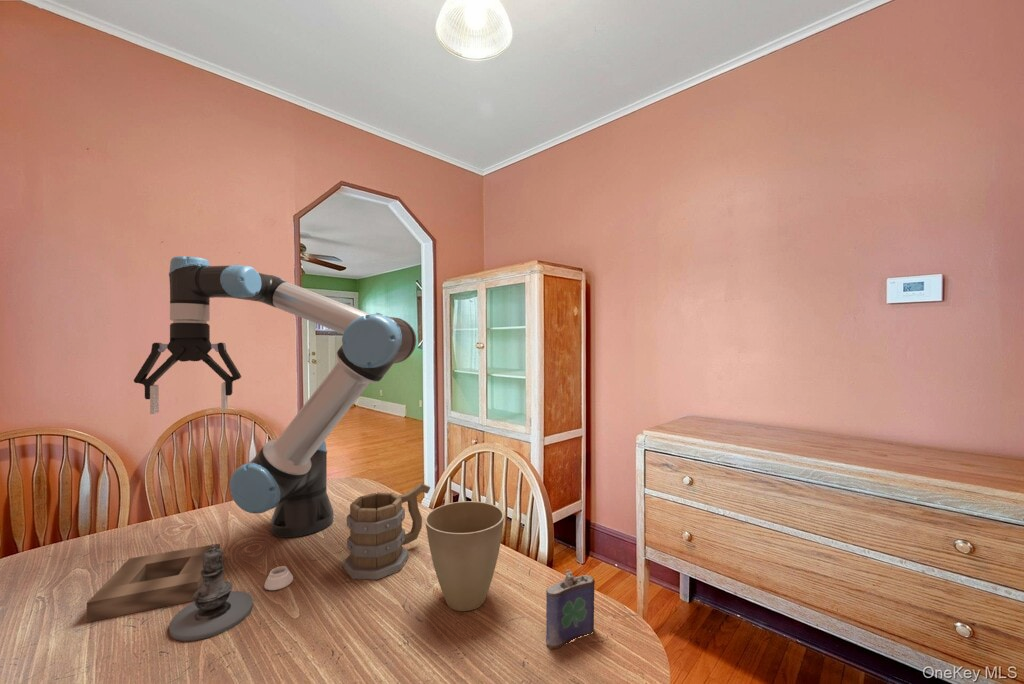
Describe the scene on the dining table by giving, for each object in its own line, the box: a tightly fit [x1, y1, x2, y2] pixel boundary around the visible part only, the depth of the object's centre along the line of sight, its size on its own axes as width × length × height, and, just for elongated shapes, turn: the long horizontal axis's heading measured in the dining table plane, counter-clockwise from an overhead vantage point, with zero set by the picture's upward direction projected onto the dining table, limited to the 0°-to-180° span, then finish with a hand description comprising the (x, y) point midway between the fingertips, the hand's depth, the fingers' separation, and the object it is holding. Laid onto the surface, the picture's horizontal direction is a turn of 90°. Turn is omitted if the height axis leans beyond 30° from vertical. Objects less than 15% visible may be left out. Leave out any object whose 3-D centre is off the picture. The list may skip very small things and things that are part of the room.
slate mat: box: [168, 590, 254, 642], centre depth 73 cm, size 12×12×1 cm
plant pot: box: [424, 500, 505, 612], centre depth 78 cm, size 15×15×16 cm
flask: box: [545, 569, 596, 650], centre depth 68 cm, size 9×3×11 cm, turn 117°
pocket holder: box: [86, 543, 221, 623], centre depth 83 cm, size 16×16×4 cm
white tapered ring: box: [263, 565, 294, 591], centre depth 83 cm, size 5×3×5 cm
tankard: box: [342, 482, 431, 581], centre depth 93 cm, size 20×13×15 cm, turn 131°
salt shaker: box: [192, 544, 234, 621], centre depth 73 cm, size 6×6×12 cm
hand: (190, 411), depth 98 cm, fingers open, 13 cm apart
